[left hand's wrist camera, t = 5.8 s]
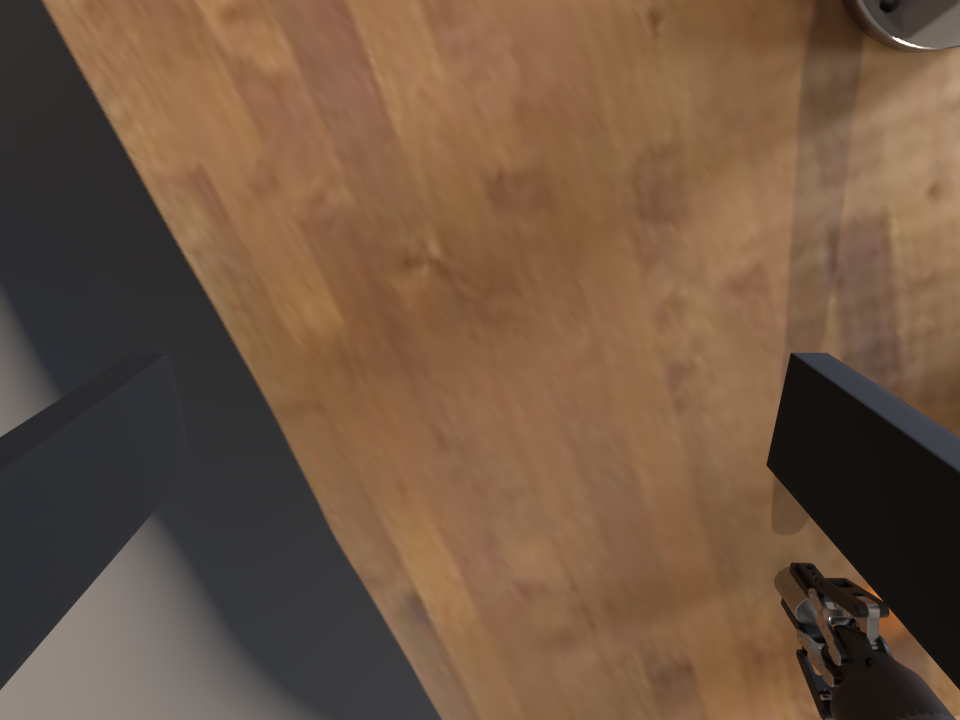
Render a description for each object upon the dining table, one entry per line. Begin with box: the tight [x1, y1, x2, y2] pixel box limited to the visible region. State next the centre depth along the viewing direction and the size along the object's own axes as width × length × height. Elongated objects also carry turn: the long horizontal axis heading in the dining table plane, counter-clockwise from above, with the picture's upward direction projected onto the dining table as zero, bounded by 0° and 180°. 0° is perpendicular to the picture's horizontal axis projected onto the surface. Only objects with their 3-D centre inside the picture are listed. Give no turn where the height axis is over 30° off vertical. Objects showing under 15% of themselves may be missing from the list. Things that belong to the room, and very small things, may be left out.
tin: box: [774, 566, 834, 625], centre depth 56 cm, size 4×4×4 cm
